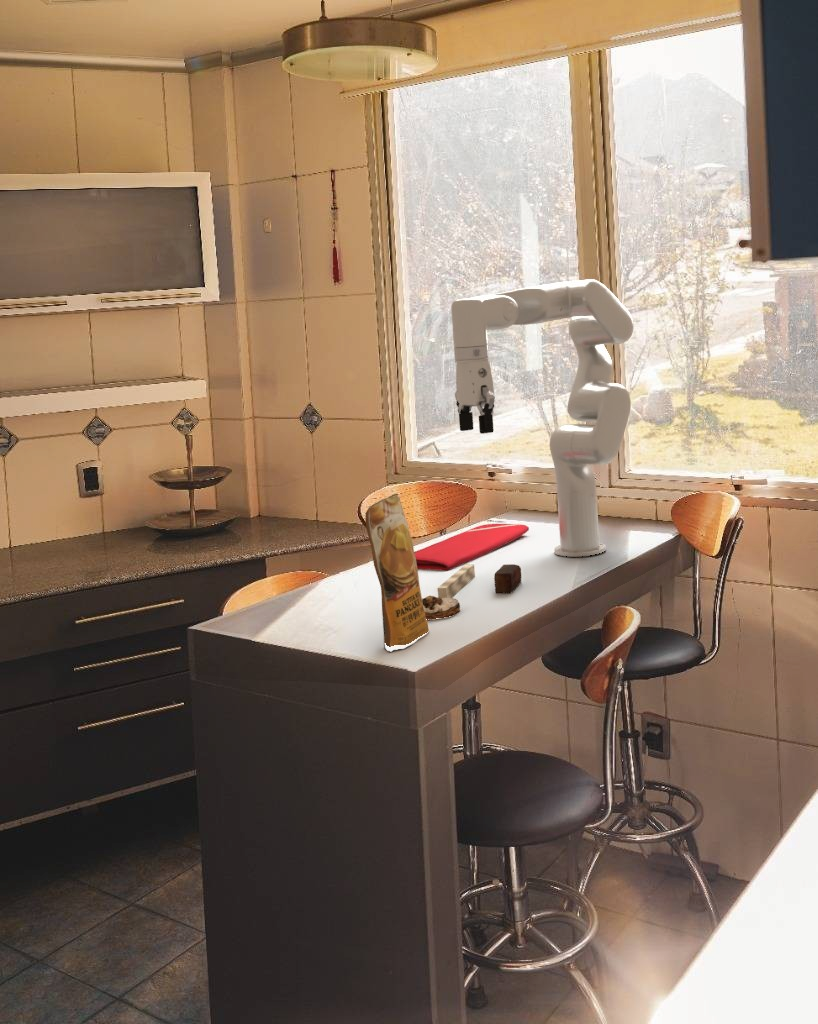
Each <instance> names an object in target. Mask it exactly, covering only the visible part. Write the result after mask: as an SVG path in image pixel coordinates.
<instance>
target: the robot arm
mask: <svg viewBox="0 0 818 1024" xmlns="http://www.w3.org/2000/svg"><path fill="white" fill-rule="evenodd" d="M450 309H451V322H452V323H451V324H452V325H451V326H452V337H453V339H452V340H453V341H452V342H453V351H454V352H453V353H454V363H456V364H455V365H456V368H455V369H456V370H455V371H456V372H455V382H456V383H455V384H456V386H455V387H456V391H455V393H454V398H455V401H456V403H455V404H456V406H457V413H458V421H459V431H461V432H465V431H467V432H468V431H472V430H473V431H474V417H473V416H474V415H473V411H472V407H475V408H477V410H478V412H479V414H480V415H478V425H479V428H478V429H479V434H488V433H489V434H490V433H494V419H493V418H494V417H493V415H494V407H495V398H496V397H495V390H494V389H495V388H494V382H493V381H494V379H493V374H492V373H493V372H492V368H491V364H490V361H489V359H490V357H489V345H488V330H489V331H490V330H491V331H496V330H504V329H508V328H510V327H512V326H526V325H528V326H529V325H535V324H536V325H537V324H542V323H547V322H553V321H557V320H563V319H569V318H570V320H569V323H568V331H569V337H570V338H571V340H572V342H573V345H574V347H575V350H576V353H577V356H578V365H577V370H576V374H575V376H574V381H573V384H572V388H571V390H570V394H569V396H568V397H569V398H568V401H567V402H568V403H567V407H566V408H567V413H568V415H569V417H570V418H571V419H572V420H575V421H577V422H583V424H581V423H580V424H579V423H569V424H564V425H560V426H558V427H557V428H555V429H554V430H553V432H552V433H551V435H550V438H549V450H550V455H551V458H552V462H553V466H554V467H553V468H554V473H555V481H556V482H555V483H556V497H557V498H556V499H557V510H558V529H559V540H560V541H559V543H560V545H557V546H556V547H554V554H555V555H557V556H560V557H566V556H567V557H569V558H573V557H574V558H576V557H577V558H578V557H579V558H580V557H581V558H583V557H590V555H592V556H595V554H597V555H600V554H603V553H605V552H606V551H605V550H607V545H606V544H604V543H602V542H600V531H599V516H598V515H599V514H598V501H597V500H598V496H597V483H596V482H597V481H596V476H595V474H594V471H593V469H592V467H591V466H590V465H594V466H595V465H597V466H604V465H609V464H610V463H612V462H613V461H614V460H615V459H616V458H617V455H618V453H619V451H620V448H621V445H622V441H623V438H624V435H625V432H626V429H627V424H628V421H629V417H630V413H631V406H632V405H631V404H632V402H631V397H630V396H631V395H630V394H629V391H628V389H627V388H626V387H625V386H623V385H622V384H619V383H617V382H616V383H615V382H611V381H612V375H613V372H614V367H613V361H612V359H611V356H610V354H609V353H608V351H607V349H606V347H605V346H606V345H620V344H624V343H626V342H627V341H629V339H631V337H632V335H633V333H634V329H635V328H634V326H635V325H634V320H633V318H632V317H633V316H632V315H631V313H630V312H629V310H628V309H627V308H626V306H625V305H624V304H623V303H622V302H621V301H620V300H619V299H618V298H617V297H616V296H615V294H614V293H613V292H612V291H611V290H610V289H609V288H607V286H606V285H605V284H603V283H601V282H600V281H598V280H596V279H583V280H571V281H562V282H555V283H551V284H543V285H538V286H537V285H536V286H529V287H525V288H519V289H515V290H511V291H504V292H500V293H499V292H498V293H493V294H486V295H480V296H473V297H470V298H461V299H456V300H454V301H453V302H452V303H451V307H450ZM584 423H595V424H584ZM604 551H605V552H604ZM602 552H603V553H602ZM599 553H600V554H599ZM582 556H583V557H582Z"/></svg>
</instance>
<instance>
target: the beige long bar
mask: <svg viewBox="0 0 818 1024" xmlns="http://www.w3.org/2000/svg"><path fill="white" fill-rule="evenodd" d="M474 578H476V573H475V564H470V563H469V564H466V563H465V564H464V565H463V566H462V567H461V568H459V569H458V570H457V571H456V572H455V573H454V574H452V575H451V576H450V577H449V578H447V580H445V581H444V582H443V583H442V584H440V585H439V586H438V587H437V597H450V598H454V596H456V595H457V593H459V592H460V591H461V590H462V589H463V588H464V587H465V586H467V585H468V584H469V583H470V582H471V581H472V580H474Z"/></svg>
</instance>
